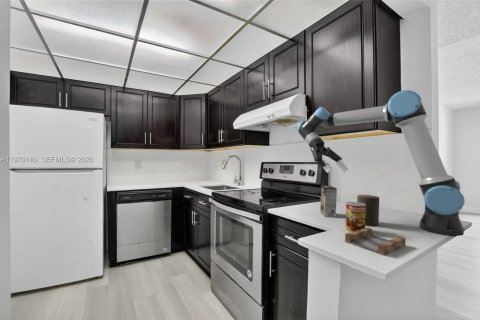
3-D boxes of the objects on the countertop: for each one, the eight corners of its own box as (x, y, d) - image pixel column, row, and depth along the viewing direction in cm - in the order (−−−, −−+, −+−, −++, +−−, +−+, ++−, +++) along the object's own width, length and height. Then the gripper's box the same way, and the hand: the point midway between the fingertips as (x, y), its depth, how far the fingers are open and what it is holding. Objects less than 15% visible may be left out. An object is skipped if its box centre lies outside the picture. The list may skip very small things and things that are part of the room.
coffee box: (319, 212, 132) (320, 185, 131) (331, 213, 131) (331, 185, 131) (324, 216, 122) (324, 187, 122) (336, 217, 122) (337, 187, 122)
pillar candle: (372, 227, 105) (373, 195, 105) (352, 221, 114) (353, 192, 113) (382, 224, 110) (383, 194, 110) (362, 219, 119) (364, 191, 118)
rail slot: (367, 234, 95) (367, 227, 95) (405, 245, 83) (405, 237, 83) (345, 241, 87) (345, 233, 87) (384, 255, 75) (384, 246, 75)
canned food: (350, 233, 97) (351, 205, 97) (342, 227, 105) (342, 201, 104) (368, 233, 97) (369, 205, 97) (358, 227, 105) (359, 202, 105)
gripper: (324, 147, 134) (347, 174, 122) (295, 146, 121) (317, 176, 108) (333, 138, 129) (357, 165, 117) (303, 135, 116) (326, 166, 104)
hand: (338, 170), depth 113 cm, fingers open, 13 cm apart
